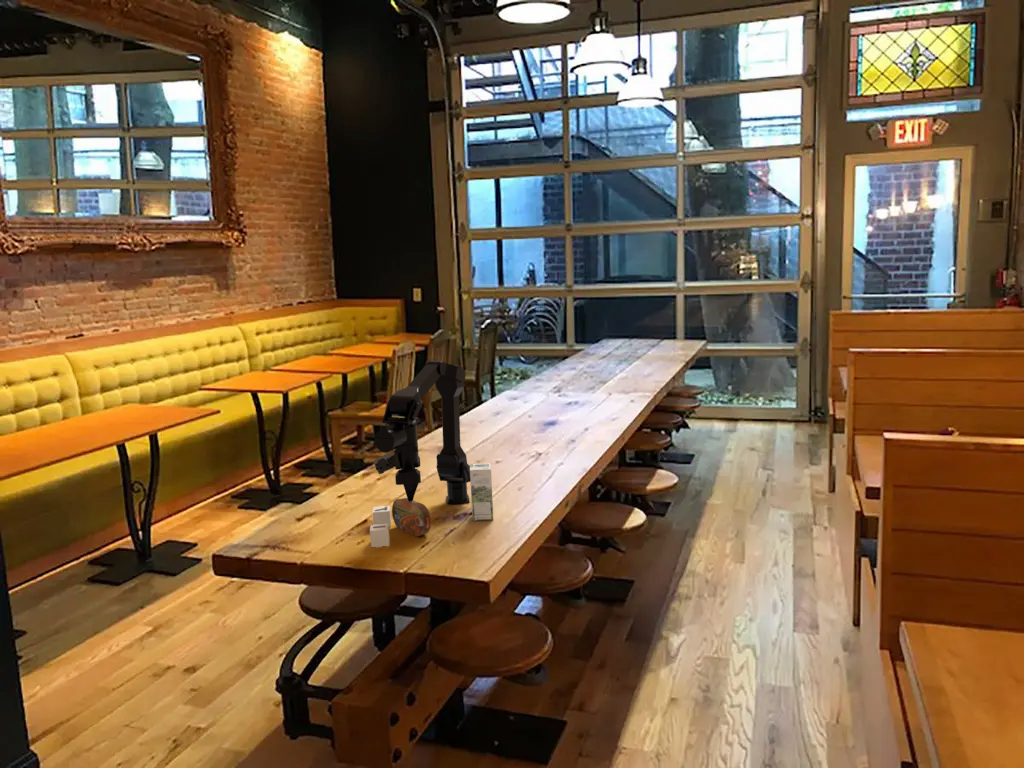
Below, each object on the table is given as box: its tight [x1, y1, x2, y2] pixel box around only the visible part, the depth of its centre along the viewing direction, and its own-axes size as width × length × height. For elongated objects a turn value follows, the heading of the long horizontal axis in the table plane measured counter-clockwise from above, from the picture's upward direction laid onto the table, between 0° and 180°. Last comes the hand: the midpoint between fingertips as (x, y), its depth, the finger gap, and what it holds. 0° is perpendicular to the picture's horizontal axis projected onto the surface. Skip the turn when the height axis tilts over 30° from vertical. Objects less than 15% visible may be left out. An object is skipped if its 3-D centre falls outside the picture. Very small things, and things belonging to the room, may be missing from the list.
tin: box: [391, 497, 432, 537], centre depth 216 cm, size 15×3×8 cm, turn 40°
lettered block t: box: [372, 505, 392, 528], centre depth 222 cm, size 4×4×5 cm
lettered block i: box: [369, 523, 391, 548], centre depth 208 cm, size 4×4×5 cm
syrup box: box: [469, 462, 494, 522], centre depth 223 cm, size 6×6×14 cm
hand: (410, 501), depth 215 cm, fingers closed, pressing on tin
